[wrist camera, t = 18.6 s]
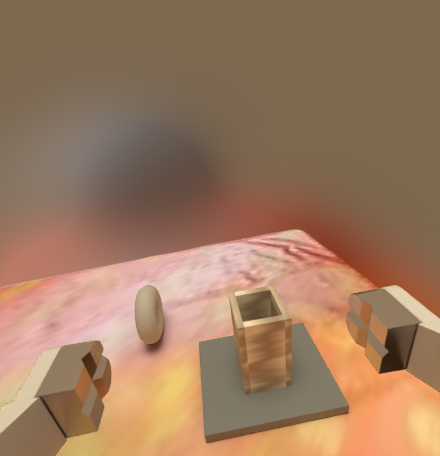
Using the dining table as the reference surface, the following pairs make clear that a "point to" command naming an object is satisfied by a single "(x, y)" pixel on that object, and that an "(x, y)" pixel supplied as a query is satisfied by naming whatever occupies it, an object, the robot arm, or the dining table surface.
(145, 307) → the donut
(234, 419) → the post board
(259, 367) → the sleeve
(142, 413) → the dining table surface
